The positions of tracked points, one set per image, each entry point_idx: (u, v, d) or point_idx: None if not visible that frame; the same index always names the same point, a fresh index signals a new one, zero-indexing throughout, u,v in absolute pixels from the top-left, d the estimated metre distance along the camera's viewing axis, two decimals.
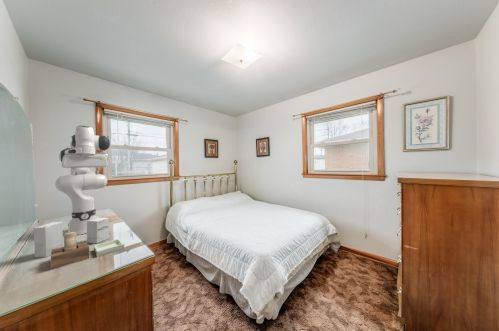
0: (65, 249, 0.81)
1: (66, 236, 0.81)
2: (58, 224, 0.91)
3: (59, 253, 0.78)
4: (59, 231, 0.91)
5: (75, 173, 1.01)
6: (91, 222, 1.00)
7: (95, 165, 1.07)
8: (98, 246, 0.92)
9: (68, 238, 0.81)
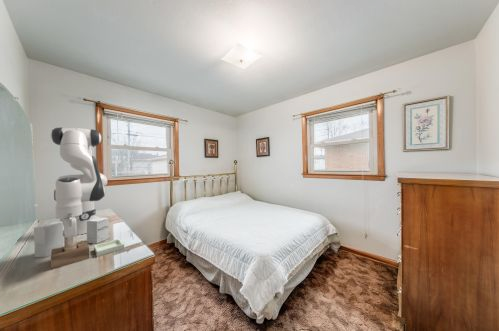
0: (65, 249, 0.81)
1: None
2: (58, 224, 0.91)
3: (59, 253, 0.78)
4: (59, 231, 0.91)
5: None
6: (91, 222, 1.00)
7: None
8: (98, 246, 0.92)
9: None
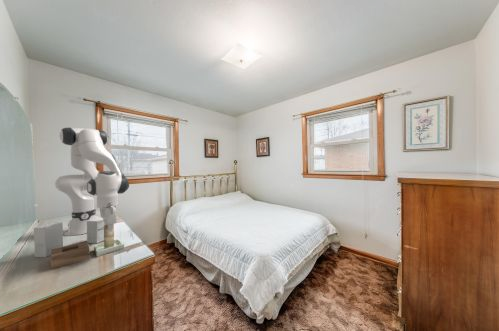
0: (105, 238, 0.90)
1: (106, 227, 0.90)
2: (58, 224, 0.91)
3: (59, 253, 0.78)
4: (59, 231, 0.91)
5: None
6: (91, 222, 1.00)
7: (105, 221, 0.88)
8: (98, 246, 0.92)
9: None
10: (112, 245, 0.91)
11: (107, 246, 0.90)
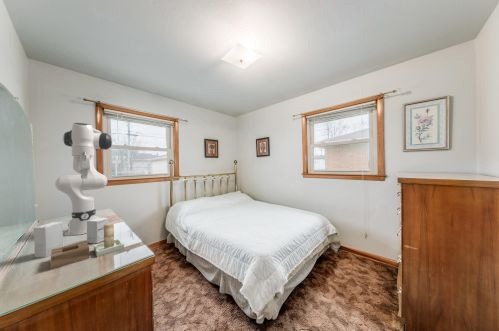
0: (105, 238, 0.90)
1: (106, 227, 0.90)
2: (58, 224, 0.91)
3: (59, 253, 0.78)
4: (59, 231, 0.91)
5: (81, 176, 0.97)
6: (91, 222, 1.00)
7: (79, 168, 0.91)
8: (98, 246, 0.92)
9: (107, 229, 0.90)
10: (112, 245, 0.91)
11: (107, 246, 0.90)
